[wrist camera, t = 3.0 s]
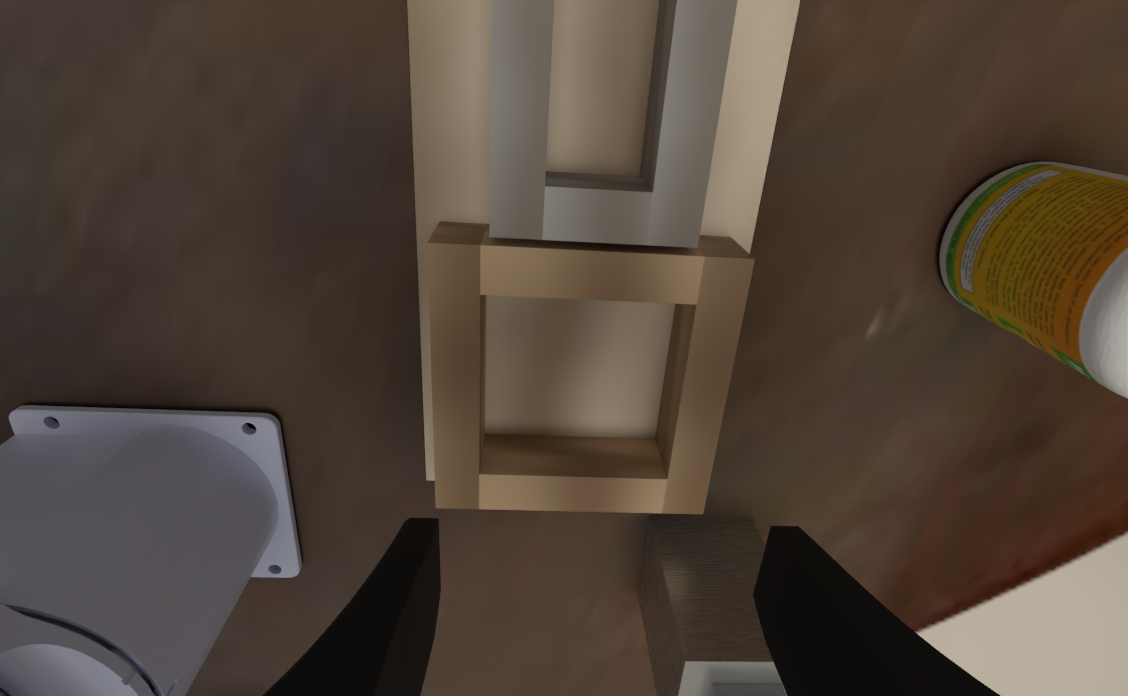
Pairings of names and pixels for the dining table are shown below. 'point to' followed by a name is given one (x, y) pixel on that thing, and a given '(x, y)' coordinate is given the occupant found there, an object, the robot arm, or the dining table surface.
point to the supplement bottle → (1048, 263)
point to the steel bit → (705, 608)
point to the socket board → (586, 240)
